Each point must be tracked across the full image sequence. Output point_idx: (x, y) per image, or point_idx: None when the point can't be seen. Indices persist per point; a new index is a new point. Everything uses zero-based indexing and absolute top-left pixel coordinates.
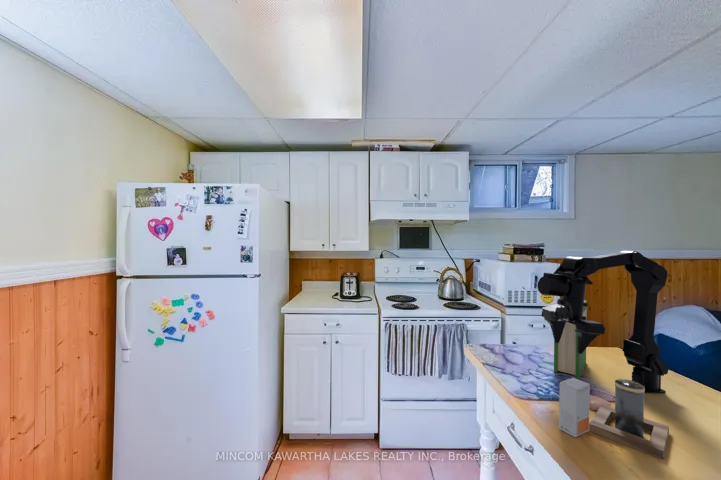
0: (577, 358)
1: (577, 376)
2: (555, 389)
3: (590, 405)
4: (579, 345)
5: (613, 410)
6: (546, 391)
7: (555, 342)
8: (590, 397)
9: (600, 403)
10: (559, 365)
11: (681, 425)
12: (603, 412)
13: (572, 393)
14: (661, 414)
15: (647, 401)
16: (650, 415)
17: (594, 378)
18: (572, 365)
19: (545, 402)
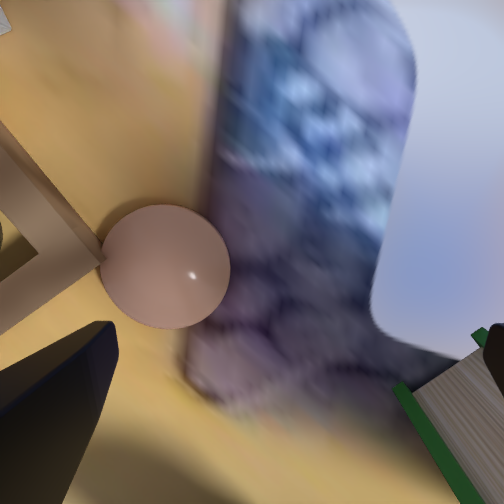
0: (447, 465)
1: (399, 390)
2: (316, 196)
3: (129, 226)
4: (4, 377)
5: (48, 271)
6: (306, 131)
7: (498, 324)
8: (198, 285)
9: (145, 285)
10: None
11: None
12: (29, 211)
13: None
14: None
15: (173, 478)
16: None
17: (375, 449)
18: (448, 416)
19: (200, 36)
